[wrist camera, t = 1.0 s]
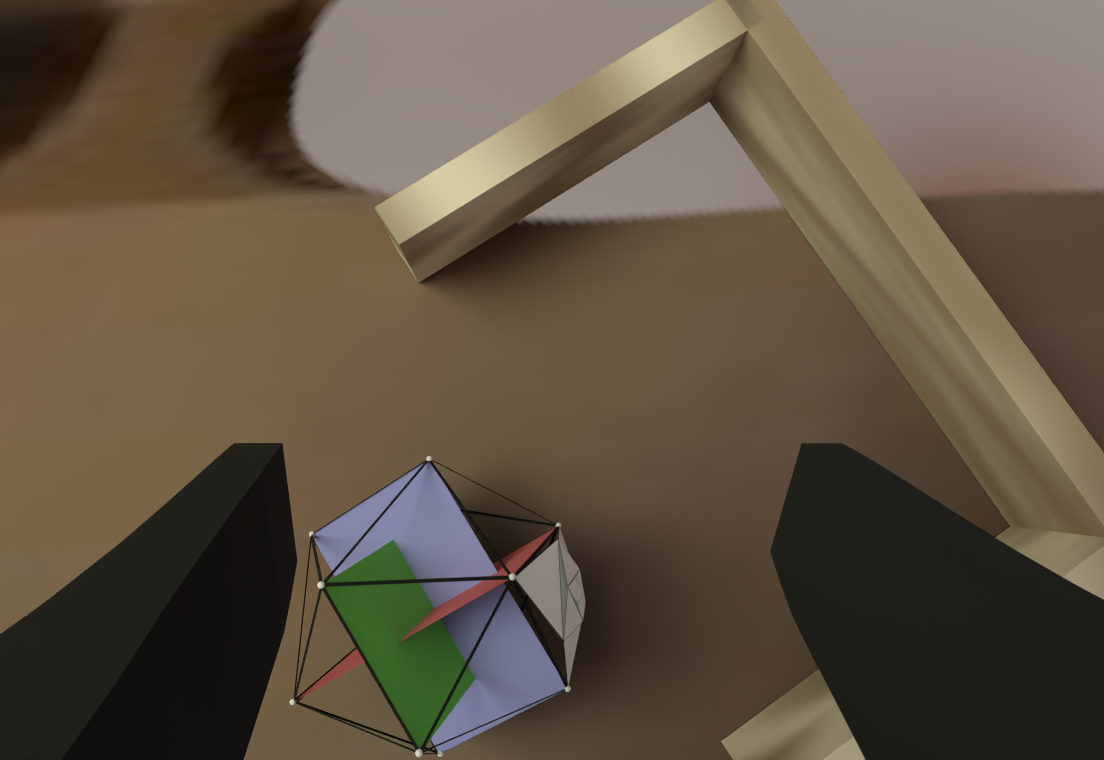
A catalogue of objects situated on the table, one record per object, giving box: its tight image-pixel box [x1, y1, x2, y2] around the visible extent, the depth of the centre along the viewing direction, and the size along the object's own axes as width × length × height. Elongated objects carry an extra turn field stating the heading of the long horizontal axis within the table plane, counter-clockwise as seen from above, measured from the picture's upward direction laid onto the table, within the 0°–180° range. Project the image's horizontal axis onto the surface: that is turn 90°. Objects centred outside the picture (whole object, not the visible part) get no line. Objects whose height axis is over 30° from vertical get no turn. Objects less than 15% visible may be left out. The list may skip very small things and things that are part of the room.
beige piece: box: [375, 0, 1104, 760], centre depth 21 cm, size 13×19×4 cm, turn 34°
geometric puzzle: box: [290, 456, 586, 757], centre depth 19 cm, size 7×7×8 cm
